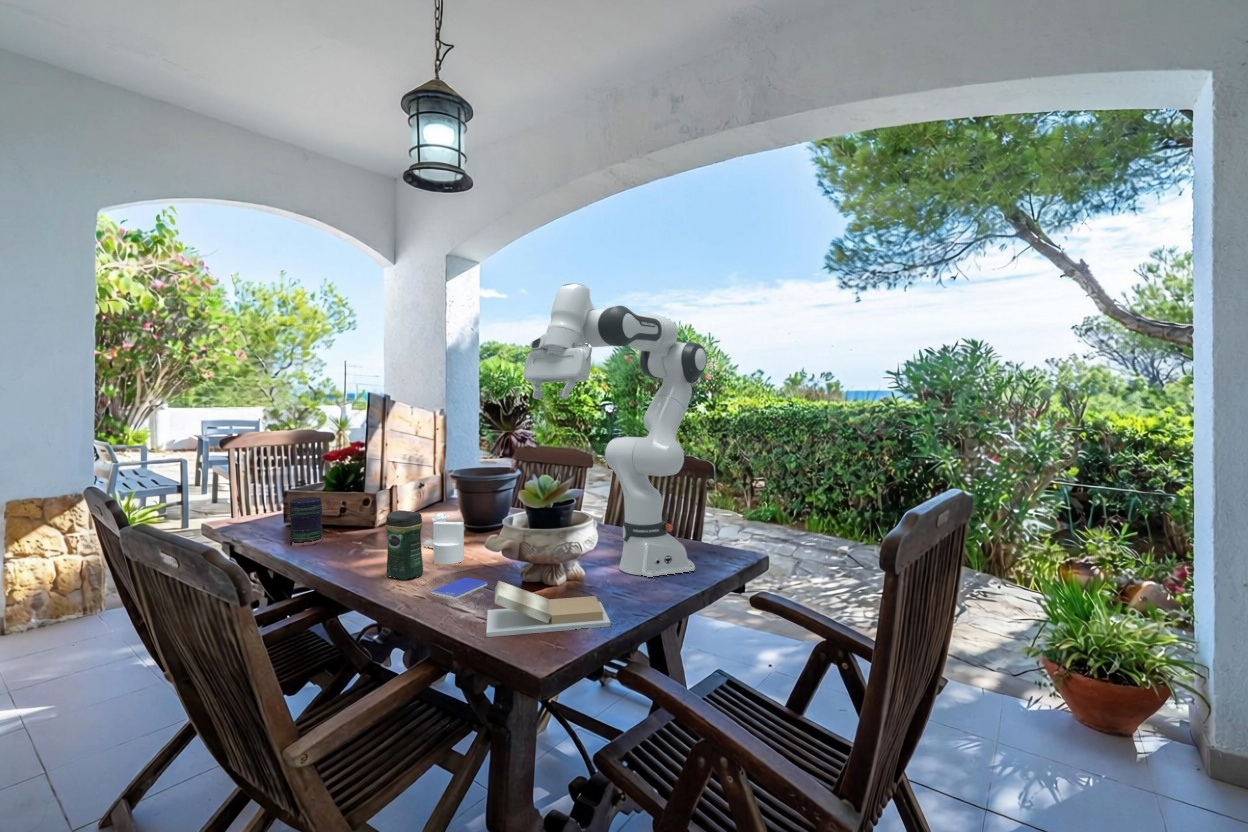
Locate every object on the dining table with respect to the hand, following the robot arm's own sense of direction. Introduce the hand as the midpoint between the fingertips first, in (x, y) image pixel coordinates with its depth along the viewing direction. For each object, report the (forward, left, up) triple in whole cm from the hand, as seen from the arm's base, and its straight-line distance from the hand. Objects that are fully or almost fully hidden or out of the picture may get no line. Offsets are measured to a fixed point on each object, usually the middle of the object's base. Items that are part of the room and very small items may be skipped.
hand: (549, 398), depth 139 cm
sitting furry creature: (+31, -61, -51) cm, 85 cm away
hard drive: (+22, -17, -52) cm, 59 cm away
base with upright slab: (+27, -44, -51) cm, 72 cm away
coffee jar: (+38, -32, -51) cm, 71 cm away
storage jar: (+77, -77, -51) cm, 120 cm away
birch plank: (+7, +9, -47) cm, 48 cm away
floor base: (+1, +9, -51) cm, 52 cm away
